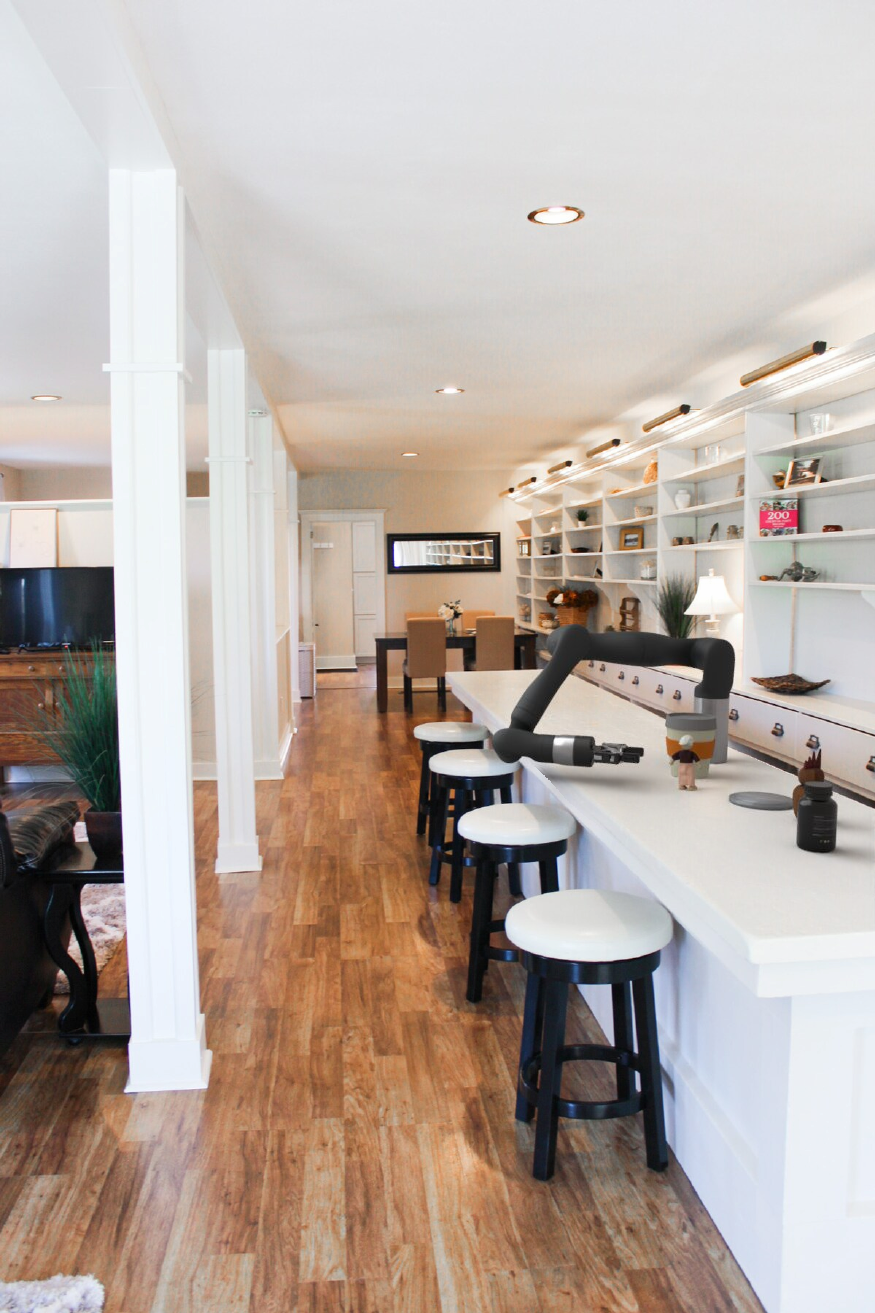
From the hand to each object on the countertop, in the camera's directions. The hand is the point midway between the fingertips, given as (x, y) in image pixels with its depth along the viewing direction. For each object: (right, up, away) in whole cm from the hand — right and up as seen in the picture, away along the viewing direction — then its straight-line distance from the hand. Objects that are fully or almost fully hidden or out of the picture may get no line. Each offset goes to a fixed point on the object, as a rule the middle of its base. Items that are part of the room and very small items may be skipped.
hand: (641, 755), depth 223 cm
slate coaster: (+23, -9, -15) cm, 29 cm away
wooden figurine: (+27, -10, -32) cm, 43 cm away
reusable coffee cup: (+15, -6, +13) cm, 20 cm away
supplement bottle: (+21, -12, -50) cm, 56 cm away
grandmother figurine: (+10, -8, -3) cm, 13 cm away
